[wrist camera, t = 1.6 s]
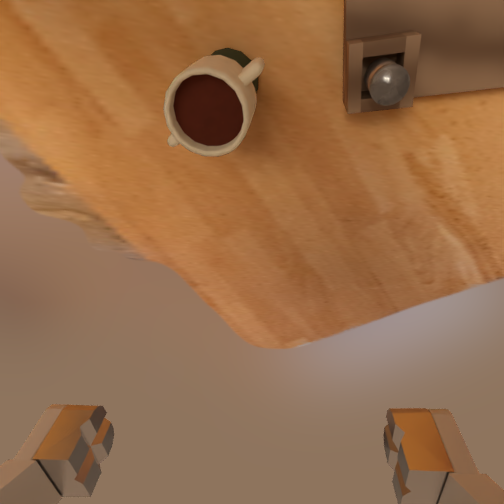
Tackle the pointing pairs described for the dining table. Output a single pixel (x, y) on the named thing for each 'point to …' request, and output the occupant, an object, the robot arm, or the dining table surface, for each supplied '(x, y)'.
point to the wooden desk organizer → (423, 47)
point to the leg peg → (386, 81)
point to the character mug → (213, 102)
